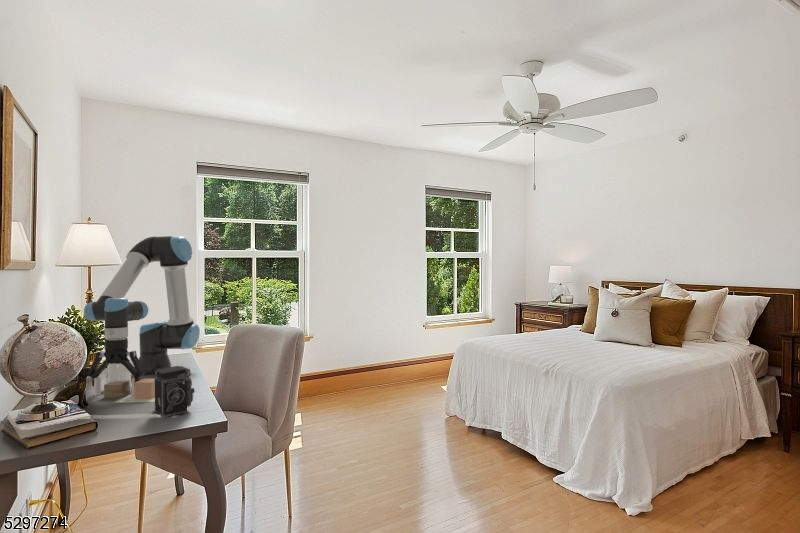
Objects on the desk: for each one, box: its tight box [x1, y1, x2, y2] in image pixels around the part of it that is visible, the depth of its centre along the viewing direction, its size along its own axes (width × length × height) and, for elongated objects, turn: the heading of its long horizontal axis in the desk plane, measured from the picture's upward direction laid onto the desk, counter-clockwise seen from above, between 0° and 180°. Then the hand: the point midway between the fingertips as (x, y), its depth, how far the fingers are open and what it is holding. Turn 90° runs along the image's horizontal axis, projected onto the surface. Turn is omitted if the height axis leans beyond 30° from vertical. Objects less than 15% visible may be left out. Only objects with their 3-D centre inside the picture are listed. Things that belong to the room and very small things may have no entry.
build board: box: [114, 393, 155, 404], centre depth 169 cm, size 14×16×1 cm
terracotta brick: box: [135, 378, 155, 399], centre depth 169 cm, size 6×6×6 cm
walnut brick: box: [103, 381, 131, 398], centre depth 172 cm, size 6×6×6 cm
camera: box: [154, 365, 195, 418], centre depth 154 cm, size 10×10×15 cm
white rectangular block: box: [107, 356, 132, 385], centre depth 186 cm, size 12×8×12 cm
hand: (116, 395), depth 172 cm, fingers open, 13 cm apart
